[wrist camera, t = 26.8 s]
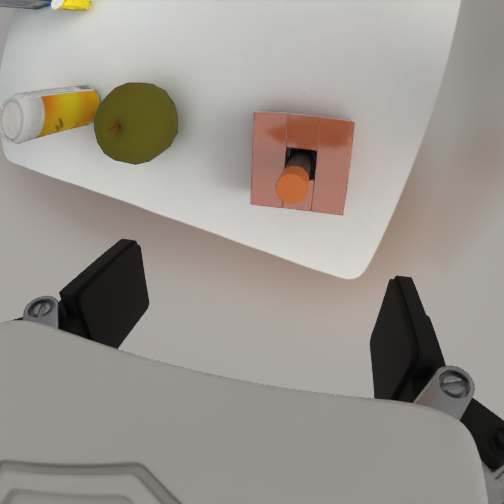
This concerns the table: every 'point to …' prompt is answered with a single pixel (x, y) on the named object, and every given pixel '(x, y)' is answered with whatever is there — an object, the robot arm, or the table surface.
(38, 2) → the milk carton
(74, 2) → the watch
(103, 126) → the apple
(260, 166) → the holder
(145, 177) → the table surface
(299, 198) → the marker
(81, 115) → the beer can
